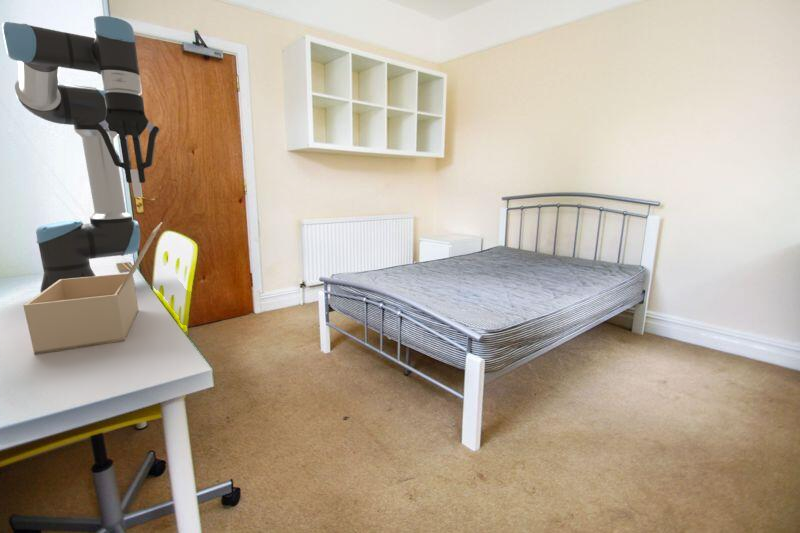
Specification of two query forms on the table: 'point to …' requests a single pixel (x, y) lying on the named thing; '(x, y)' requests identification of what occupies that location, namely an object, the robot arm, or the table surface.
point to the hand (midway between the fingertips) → (138, 196)
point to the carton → (81, 313)
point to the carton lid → (140, 257)
